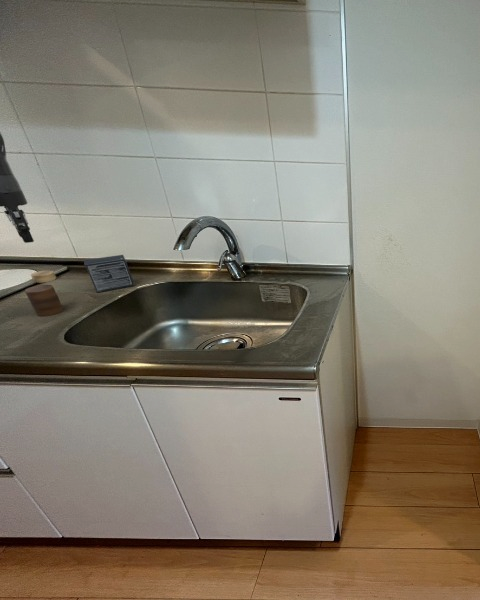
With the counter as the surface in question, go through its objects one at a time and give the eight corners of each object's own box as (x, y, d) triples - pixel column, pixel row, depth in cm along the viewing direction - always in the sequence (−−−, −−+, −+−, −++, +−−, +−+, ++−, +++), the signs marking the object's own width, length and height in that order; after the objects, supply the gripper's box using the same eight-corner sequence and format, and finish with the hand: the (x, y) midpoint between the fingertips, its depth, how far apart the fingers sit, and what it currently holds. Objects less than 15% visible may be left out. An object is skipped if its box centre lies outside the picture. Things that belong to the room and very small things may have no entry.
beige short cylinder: (29, 282, 109) (25, 276, 107) (43, 276, 113) (40, 270, 112) (47, 282, 109) (44, 276, 108) (60, 276, 114) (57, 270, 113)
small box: (132, 280, 116) (123, 253, 111) (135, 286, 112) (126, 258, 107) (94, 287, 109) (83, 259, 104) (96, 293, 105) (84, 264, 100)
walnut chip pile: (30, 316, 90) (17, 292, 86) (47, 307, 95) (36, 284, 91) (53, 316, 91) (42, 292, 87) (69, 307, 96) (59, 284, 92)
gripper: (-18, 187, 98) (7, 236, 105) (-13, 193, 91) (13, 246, 98) (17, 186, 104) (39, 233, 111) (24, 191, 96) (47, 242, 103)
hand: (27, 239), depth 104 cm, fingers open, 8 cm apart
